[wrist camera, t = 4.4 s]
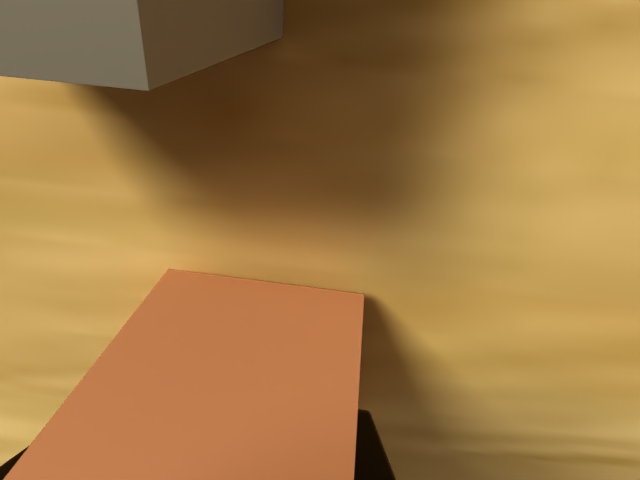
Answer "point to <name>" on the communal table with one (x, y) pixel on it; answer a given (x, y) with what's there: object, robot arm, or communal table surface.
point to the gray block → (129, 38)
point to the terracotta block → (214, 389)
